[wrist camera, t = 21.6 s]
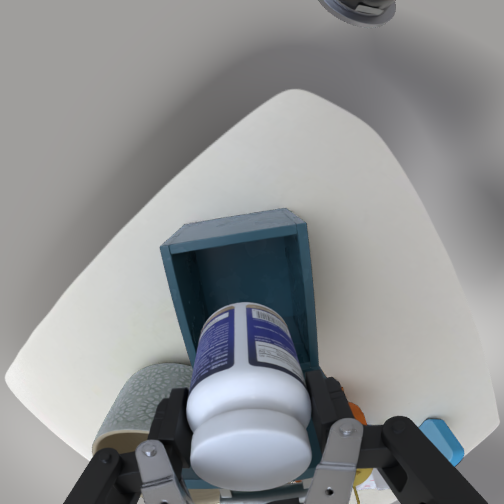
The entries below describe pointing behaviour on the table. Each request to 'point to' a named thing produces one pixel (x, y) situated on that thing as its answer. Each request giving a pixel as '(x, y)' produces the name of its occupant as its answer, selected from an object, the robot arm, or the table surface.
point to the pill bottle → (248, 401)
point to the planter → (145, 414)
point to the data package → (443, 439)
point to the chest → (244, 274)
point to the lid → (255, 500)
